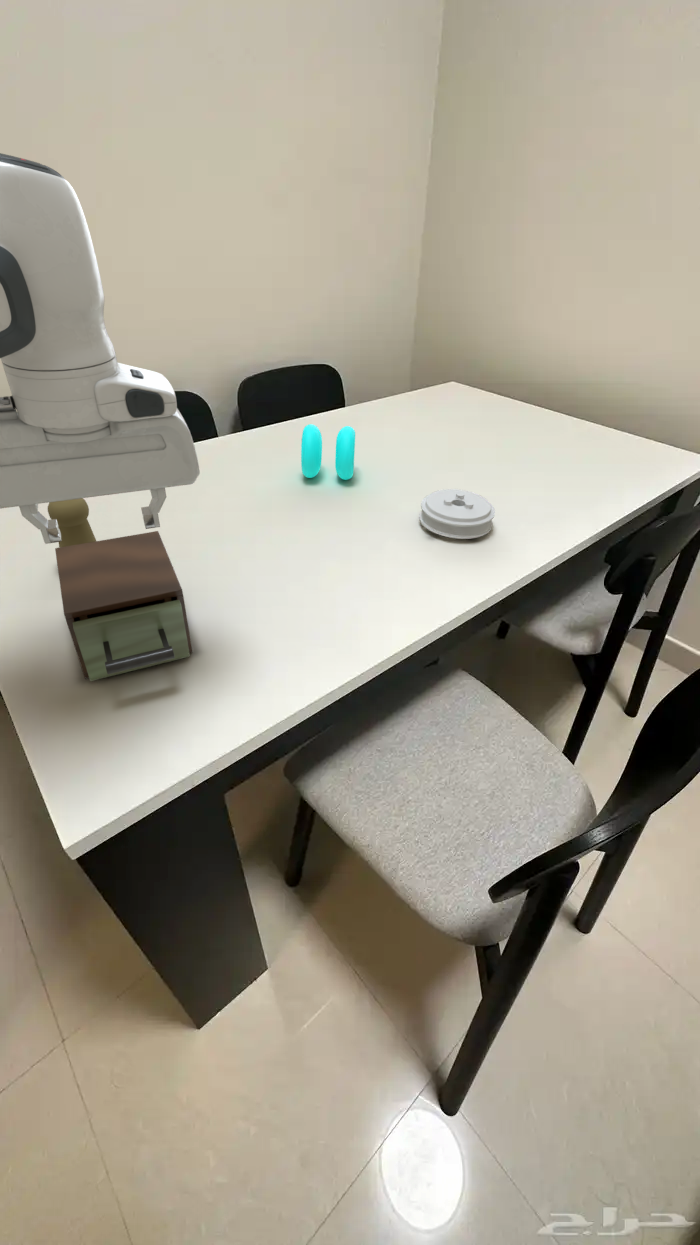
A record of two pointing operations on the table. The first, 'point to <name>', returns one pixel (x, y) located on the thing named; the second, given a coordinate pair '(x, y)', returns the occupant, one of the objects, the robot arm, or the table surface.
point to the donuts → (313, 452)
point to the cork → (72, 521)
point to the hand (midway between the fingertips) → (104, 532)
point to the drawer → (132, 637)
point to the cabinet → (115, 578)
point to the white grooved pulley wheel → (457, 513)
